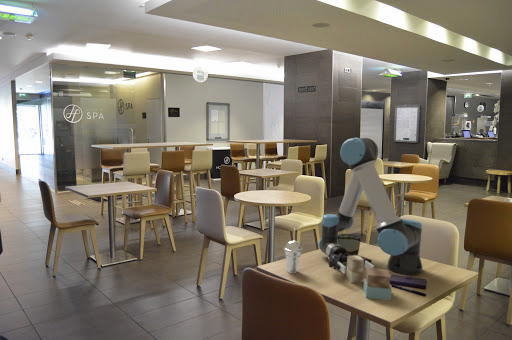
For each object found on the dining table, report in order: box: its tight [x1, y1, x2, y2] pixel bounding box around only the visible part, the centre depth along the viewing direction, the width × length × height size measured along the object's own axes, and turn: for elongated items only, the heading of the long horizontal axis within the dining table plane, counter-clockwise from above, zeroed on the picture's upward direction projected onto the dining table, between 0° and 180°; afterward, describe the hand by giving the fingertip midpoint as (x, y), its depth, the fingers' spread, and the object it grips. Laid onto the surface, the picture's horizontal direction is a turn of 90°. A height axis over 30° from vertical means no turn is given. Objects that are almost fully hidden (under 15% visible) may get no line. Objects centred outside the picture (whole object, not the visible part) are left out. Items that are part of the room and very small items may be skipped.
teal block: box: [362, 277, 393, 301], centre depth 155 cm, size 9×9×4 cm
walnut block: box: [365, 267, 391, 289], centre depth 154 cm, size 8×8×4 cm
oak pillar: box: [345, 255, 365, 284], centre depth 167 cm, size 5×5×10 cm
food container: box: [337, 233, 362, 255], centre depth 203 cm, size 12×6×10 cm, turn 77°
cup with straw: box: [283, 223, 304, 274], centre depth 175 cm, size 8×9×20 cm
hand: (359, 269), depth 164 cm, fingers open, 12 cm apart
